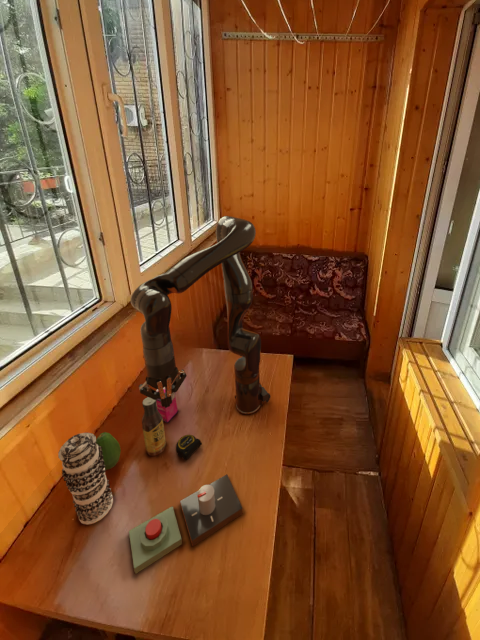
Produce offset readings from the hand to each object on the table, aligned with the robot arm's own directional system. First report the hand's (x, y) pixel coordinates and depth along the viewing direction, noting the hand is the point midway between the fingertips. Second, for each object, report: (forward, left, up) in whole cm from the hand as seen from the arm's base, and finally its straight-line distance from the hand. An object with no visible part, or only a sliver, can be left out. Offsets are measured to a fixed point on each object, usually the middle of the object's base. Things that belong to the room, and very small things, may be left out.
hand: (167, 405), depth 90 cm
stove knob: (-4, +18, -22) cm, 29 cm away
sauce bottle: (+4, -10, -25) cm, 27 cm away
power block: (+10, +17, -25) cm, 32 cm away
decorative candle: (+22, 0, -25) cm, 33 cm away
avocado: (+18, -12, -25) cm, 33 cm away
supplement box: (-2, -22, -25) cm, 34 cm away
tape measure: (-5, -3, -25) cm, 26 cm away
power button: (+10, +17, -21) cm, 29 cm away
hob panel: (-5, +18, -25) cm, 31 cm away
